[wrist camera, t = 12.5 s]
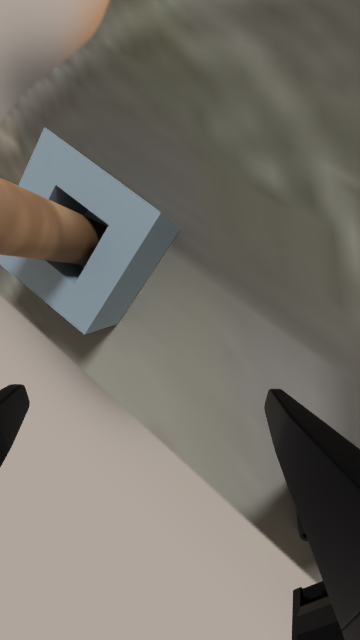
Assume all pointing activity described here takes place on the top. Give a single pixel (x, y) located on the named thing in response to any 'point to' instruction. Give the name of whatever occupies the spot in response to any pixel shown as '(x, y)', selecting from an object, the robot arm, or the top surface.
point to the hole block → (112, 250)
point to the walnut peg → (44, 228)
